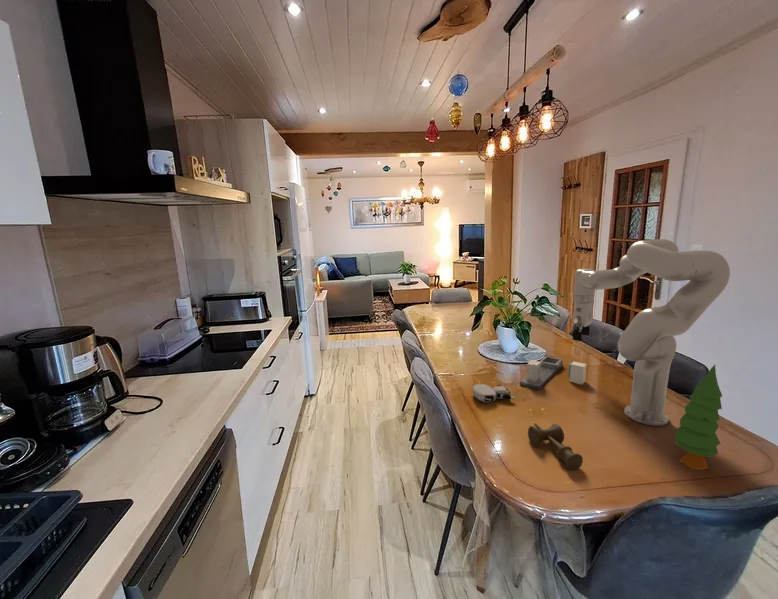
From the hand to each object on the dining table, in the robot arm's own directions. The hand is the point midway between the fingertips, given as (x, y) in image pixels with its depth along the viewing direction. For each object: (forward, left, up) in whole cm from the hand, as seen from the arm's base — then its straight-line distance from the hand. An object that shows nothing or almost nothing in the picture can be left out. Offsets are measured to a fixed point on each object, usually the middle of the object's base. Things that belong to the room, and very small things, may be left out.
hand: (580, 337), depth 149 cm
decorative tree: (-39, -39, -20) cm, 59 cm away
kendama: (-57, -8, -20) cm, 61 cm away
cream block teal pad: (-2, 0, -19) cm, 19 cm away
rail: (-4, +14, -19) cm, 24 cm away
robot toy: (-38, +22, -20) cm, 48 cm away
